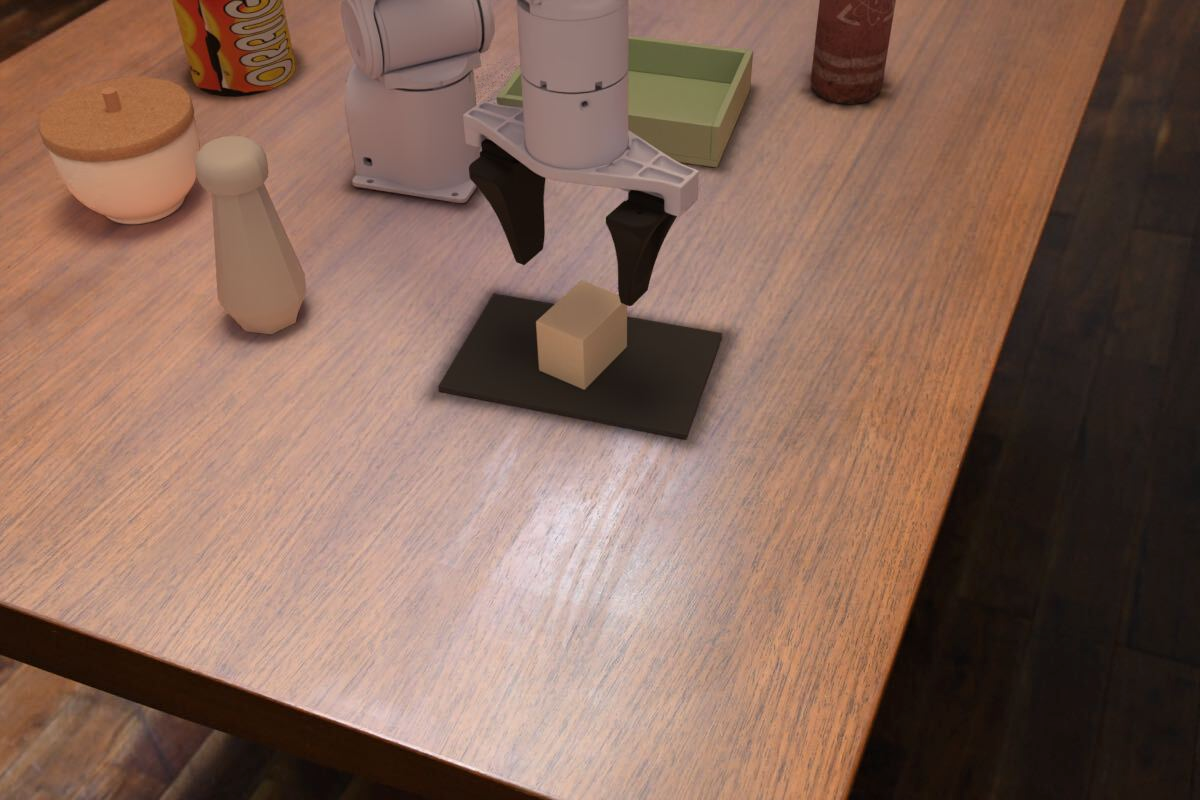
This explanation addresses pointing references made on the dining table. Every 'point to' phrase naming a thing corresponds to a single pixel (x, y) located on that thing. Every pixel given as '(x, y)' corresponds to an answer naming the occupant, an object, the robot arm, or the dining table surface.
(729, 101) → the bin
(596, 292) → the tan wooden block
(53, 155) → the trinket box
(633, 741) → the dining table surface
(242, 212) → the salt shaker
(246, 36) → the beverage can
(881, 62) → the can
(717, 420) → the dining table surface
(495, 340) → the mat
